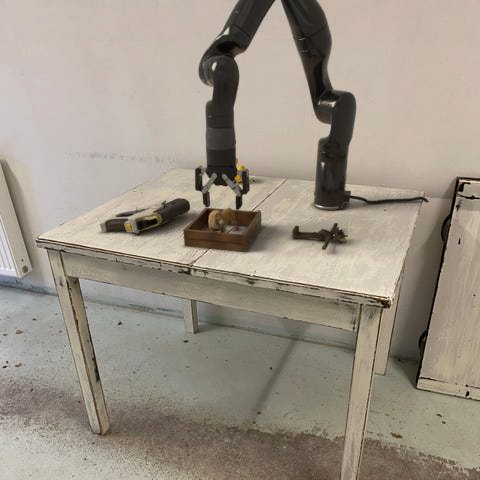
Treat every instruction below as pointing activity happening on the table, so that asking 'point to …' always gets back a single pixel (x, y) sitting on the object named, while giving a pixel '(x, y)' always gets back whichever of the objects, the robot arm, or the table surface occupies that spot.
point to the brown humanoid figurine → (322, 235)
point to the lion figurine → (222, 220)
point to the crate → (221, 239)
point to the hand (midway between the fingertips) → (222, 207)
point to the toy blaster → (146, 216)
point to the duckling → (239, 169)
